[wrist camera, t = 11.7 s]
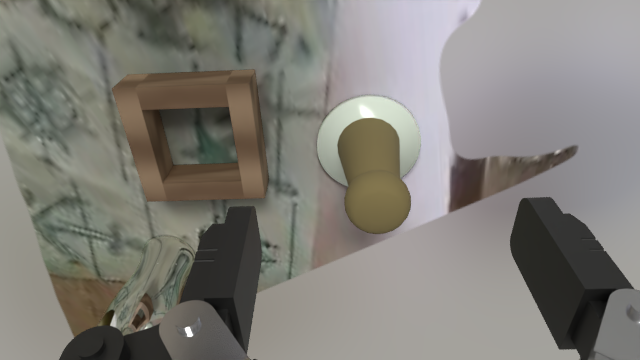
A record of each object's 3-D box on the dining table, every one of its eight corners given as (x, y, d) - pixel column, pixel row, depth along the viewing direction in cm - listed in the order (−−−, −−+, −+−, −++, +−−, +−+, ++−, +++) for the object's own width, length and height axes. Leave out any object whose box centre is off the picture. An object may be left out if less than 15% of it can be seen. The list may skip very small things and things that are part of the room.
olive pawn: (405, 164, 44) (425, 237, 35) (345, 178, 45) (350, 252, 36) (393, 110, 41) (412, 174, 31) (330, 126, 42) (330, 192, 32)
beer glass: (202, 278, 54) (163, 395, 41) (144, 275, 54) (88, 391, 41) (196, 234, 50) (152, 347, 37) (134, 230, 50) (69, 343, 37)
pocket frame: (127, 74, 40) (111, 88, 37) (255, 69, 40) (249, 83, 37) (158, 182, 46) (147, 201, 43) (268, 178, 46) (264, 198, 43)
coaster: (314, 96, 41) (314, 100, 40) (423, 92, 41) (425, 95, 40) (319, 186, 46) (319, 191, 46) (415, 183, 46) (417, 188, 45)
